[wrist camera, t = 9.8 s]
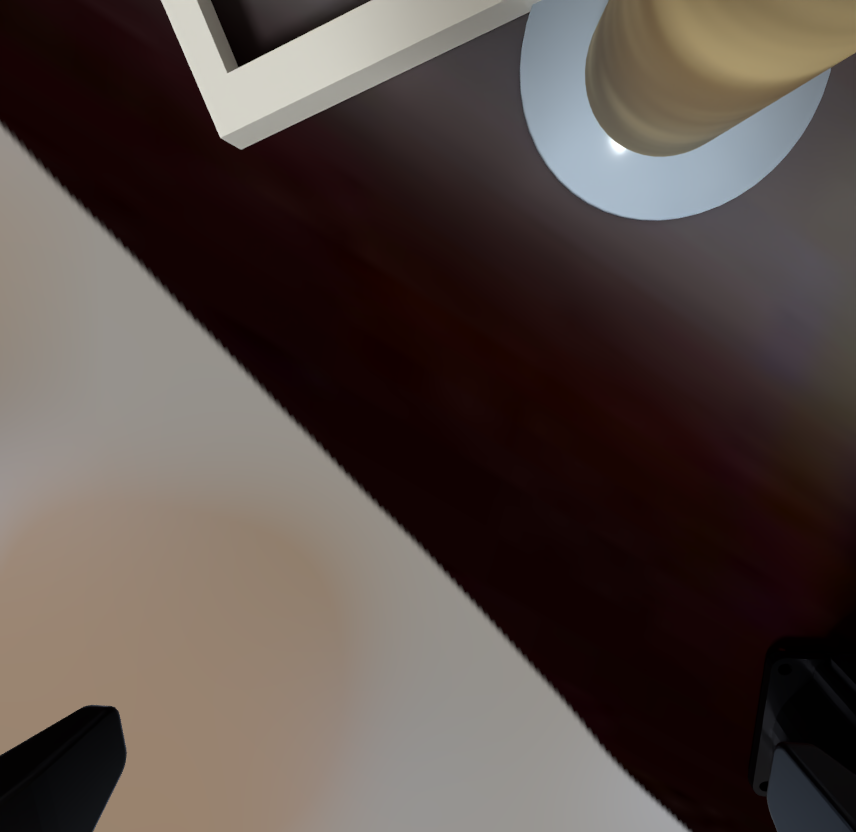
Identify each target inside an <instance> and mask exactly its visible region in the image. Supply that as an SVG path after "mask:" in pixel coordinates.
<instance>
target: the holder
mask: <svg viewBox="0 0 856 832" xmlns="http://www.w3.org/2000/svg"><path fill="white" fill-rule="evenodd" d="M161 1H162V3H163V6H164V8H165V10H166V13H167V15H168V17H169V20H170V22H171V24H172V27H173V29H174V31H175V33H176V36H177V38H178V40H179V43H180V45H181V47H182V50H183V52H184V54H185V57H186V59H187V61H188V64H189V66H190V68H191V71H192V73H193V75H194V78H195V80H196V82H197V85H198V87H199V89H200V92H201V94H202V96H203V99H204V101H205V103H206V106H207V108H208V110H209V113H210V115H211V117H212V119H213V122H214V124H215V126H216V129H217V131H218V133H219V136H220V138H221V139H223V140H225V141H227V142H229V143H230V144H232V145H234V146H236V147H237V148H239V149H243V148H246V147H248V146H250V145H252V144H254V143H256V142H258V141H260V140H262V139H264V138H267V137H269V136H271V135H273V134H275V133H277V132H279V131H281V130H283V129H285V128H287V127H290V126H292V125H294V124H296V123H298V122H300V121H302V120H304V119H306V118H308V117H311V116H313V115H315V114H317V113H319V112H321V111H323V110H325V109H327V108H329V107H332V106H334V105H336V104H338V103H340V102H342V101H344V100H346V99H348V98H350V97H352V96H355V95H357V94H359V93H361V92H363V91H365V90H367V89H369V88H371V87H373V86H376V85H378V84H380V83H382V82H384V81H386V80H388V79H390V78H392V77H394V76H396V75H399V74H401V73H403V72H405V71H407V70H409V69H411V68H413V67H415V66H417V65H420V64H422V63H424V62H426V61H428V60H430V59H432V58H434V57H436V56H438V55H441V54H443V53H445V52H447V51H449V50H451V49H453V48H455V47H457V46H459V45H461V44H464V43H466V42H468V41H470V40H472V39H474V38H476V37H478V36H480V35H482V34H485V33H487V32H489V31H491V30H493V29H495V28H497V27H499V26H501V25H503V24H506V23H508V22H510V21H512V20H514V19H516V18H518V17H520V16H522V15H524V14H526V13H529V12H530V11H531V8H532V5H533V4H535V3H537V2H539V1H541V0H371V1H369V2H367V3H365V4H363V5H361V6H359V7H357V8H355V9H353V10H351V11H349V12H347V13H345V14H343V15H342V16H340V17H338V18H336V19H334V20H332V21H330V22H328V23H326V24H324V25H322V26H320V27H318V28H316V29H314V30H312V31H310V32H308V33H306V34H304V35H302V36H300V37H298V38H296V39H294V40H292V41H290V42H288V43H286V44H284V45H282V46H280V47H278V48H276V49H274V50H273V51H271V52H269V53H267V54H265V55H263V56H261V57H259V58H257V59H255V60H253V61H251V62H249V63H247V64H245V65H243V66H241V67H239V68H238V65H237V63H236V60H235V58H234V55H233V53H232V51H231V48H230V46H229V43H228V41H227V38H226V36H225V34H224V31H223V29H222V26H221V24H220V22H219V19H218V17H217V14H216V12H215V9H214V7H213V5H212V2H211V0H161Z"/></svg>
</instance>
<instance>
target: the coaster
mask: <svg viewBox="0 0 856 832" xmlns="http://www.w3.org/2000/svg"><path fill="white" fill-rule="evenodd" d="M608 1H609V0H541V1H539V2H537V3H535V4H533V5H532V8H531V11H530V14H529V17H528V21H527V24H526V29H525V34H524V39H523V44H522V50H521V59H520V72H519V74H520V95H521V101H522V107H523V114H524V117H525V121H526V124H527V127H528V131H529V134H530V136H531V138H532V141H533V143H534V145H535V147H536V150H537V152H538V153H539V155H540V156H541V158H542V160H543V161H544V163H545V165H546V166H547V168H548V169H549V170H550V171H551V173H552V174H553V175H554V176H555V177H556V179H557V180H558V181H559V182H560V183H561V184H562V185H563V186H564V187H566V188H567V189H568V190H569V191H570V192H571V193H572V194H574V195H575V196H576V197H578V198H579V199H581V200H582V201H584V202H585V203H587V204H589V205H591V206H593V207H595V208H597V209H599V210H601V211H603V212H606V213H609V214H612V215H615V216H618V217H622V218H628V219H634V220H645V221H661V220H671V219H678V218H682V217H687V216H691V215H695V214H698V213H701V212H704V211H707V210H710V209H712V208H715V207H718V206H720V205H722V204H724V203H726V202H728V201H730V200H732V199H734V198H736V197H738V196H739V195H741V194H742V193H744V192H745V191H747V190H748V189H750V188H751V187H753V186H754V185H755V184H757V183H758V182H759V181H760V180H761V179H763V178H764V177H765V176H766V175H767V174H769V173H770V172H771V171H772V170H773V169H774V168H775V167H776V166H777V165H778V164H779V163H780V162H781V161H782V160H783V158H784V157H785V156H786V155H787V154H788V153H789V152H790V150H791V149H792V148H793V146H794V145H795V144H796V142H797V141H798V140H799V138H800V137H801V136H802V134H803V132H804V131H805V129H806V127H807V126H808V124H809V122H810V121H811V119H812V117H813V115H814V113H815V111H816V109H817V107H818V105H819V102H820V100H821V98H822V96H823V93H824V90H825V87H826V84H827V81H828V78H829V75H830V71H831V68H830V69H828V70H826V71H825V72H823V73H821V74H820V75H818V76H816V77H815V78H813V79H811V80H810V81H808V82H807V83H805V84H803V85H802V86H800V87H798V88H797V89H795V90H793V91H792V92H790V93H788V94H787V95H785V96H784V97H782V98H780V99H779V100H777V101H775V102H774V103H772V104H770V105H769V106H767V107H765V108H764V109H762V110H761V111H759V112H757V113H756V114H754V115H752V116H751V117H749V118H747V119H746V120H744V121H742V122H741V123H739V124H737V125H736V126H734V127H733V128H731V129H729V130H728V131H726V132H724V133H723V134H721V135H719V136H718V137H716V138H714V139H713V140H711V141H710V142H708V143H706V144H704V145H702V146H701V147H699V148H697V149H694V150H692V151H689V152H687V153H683V154H679V155H675V156H667V157H653V156H647V155H642V154H638V153H635V152H632V151H630V150H628V149H626V148H624V147H622V146H621V145H619V144H618V143H616V142H615V141H614V140H613V139H612V138H611V137H609V136H608V135H607V134H606V132H605V131H604V130H603V129H602V127H601V126H600V125H599V123H598V121H597V120H596V118H595V116H594V114H593V112H592V109H591V107H590V104H589V101H588V97H587V92H586V85H585V66H586V57H587V53H588V48H589V45H590V42H591V39H592V36H593V33H594V31H595V29H596V27H597V25H598V22H599V20H600V18H601V16H602V14H603V12H604V10H605V7H606V5H607V3H608Z"/></svg>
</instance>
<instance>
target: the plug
mask: <svg viewBox="0 0 856 832" xmlns="http://www.w3.org/2000/svg"><path fill="white" fill-rule="evenodd" d="M854 53H856V0H609V1H608V3H607V5H606V7H605V10H604V12H603V14H602V16H601V18H600V20H599V22H598V25H597V27H596V29H595V31H594V33H593V36H592V39H591V42H590V45H589V48H588V53H587V57H586V66H585V85H586V92H587V97H588V101H589V104H590V107H591V109H592V112H593V114H594V116H595V118H596V120H597V121H598V123H599V125H600V126H601V127H602V129H603V130H604V131H605V132H606V134H607V135H608V136H609V137H611V138H612V139H613V140H614V141H615V142H616V143H618V144H619V145H621V146H622V147H624V148H626V149H628V150H630V151H632V152H635V153H638V154H642V155H647V156H653V157H667V156H675V155H679V154H683V153H687V152H689V151H692V150H694V149H697V148H699V147H701V146H702V145H704V144H706V143H708V142H710V141H711V140H713V139H714V138H716V137H718V136H719V135H721V134H723V133H724V132H726V131H728V130H729V129H731V128H733V127H734V126H736V125H737V124H739V123H741V122H742V121H744V120H746V119H747V118H749V117H751V116H752V115H754V114H756V113H757V112H759V111H761V110H762V109H764V108H765V107H767V106H769V105H770V104H772V103H774V102H775V101H777V100H779V99H780V98H782V97H784V96H785V95H787V94H788V93H790V92H792V91H793V90H795V89H797V88H798V87H800V86H802V85H803V84H805V83H807V82H808V81H810V80H811V79H813V78H815V77H816V76H818V75H820V74H821V73H823V72H825V71H826V70H828V69H830V68H831V67H833V66H835V65H836V64H838V63H839V62H841V61H843V60H844V59H846V58H848V57H849V56H851V55H853V54H854Z"/></svg>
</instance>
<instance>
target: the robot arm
mask: <svg viewBox="0 0 856 832" xmlns="http://www.w3.org/2000/svg"><path fill="white" fill-rule="evenodd" d="M782 664H786V665H785V666H784V667H782V668H779V666H781V665H782ZM126 754H127V752H126V745H125V740H124V735H123V730H122V725H121V719H120V715H119V712H118V710H117V709H116V708H115V707H112V706H100V705H89V706H85V707H83V708H81V709H79V710H77V711H75V712H74V713H72V714H70V715H69V716H67V717H65V718H63V719H62V720H60V721H58V722H57V723H55V724H53V725H52V726H50V727H48V728H46V729H45V730H43V731H41V732H40V733H38V734H36V735H34V736H33V737H31V738H29V739H28V740H26V741H24V742H23V743H21V744H19V745H17V746H16V747H14V748H12V749H11V750H9V751H7V752H5V753H4V754H2V755H0V832H93V831H94V829H95V827H96V824H97V823H98V820H99V818H100V817H101V814H102V812H103V810H104V808H105V806H106V804H107V802H108V800H109V798H110V796H111V794H112V792H113V790H114V788H115V786H116V784H117V782H118V780H119V778H120V776H121V774H122V772H123V769H124V766H125V762H126ZM748 781H749V783H750V784H751V786H752V788H753V790H754V791H755V793H757V794H758V795H761V796H767V801H768V806H769V810H770V813H771V816H772V819H773V821H774V824H775V827H776V829H777V832H856V653H817V652H792V651H778V652H774V653H772V654H770V655H769V656H768V657H767V660H766V663H765V670H764V676H763V683H762V689H761V696H760V702H759V709H758V715H757V722H756V728H755V735H754V741H753V748H752V754H751V761H750V767H749V774H748Z"/></svg>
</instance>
